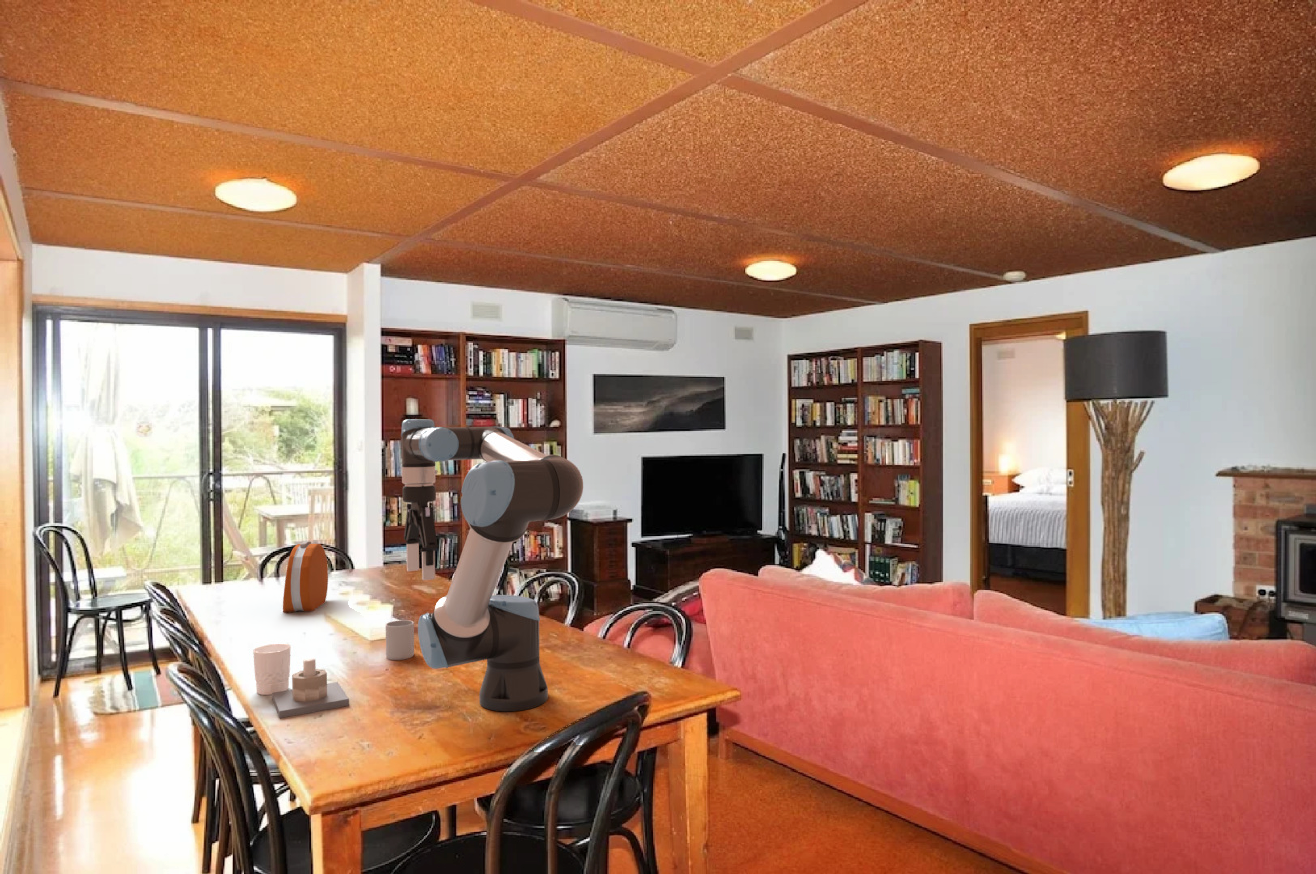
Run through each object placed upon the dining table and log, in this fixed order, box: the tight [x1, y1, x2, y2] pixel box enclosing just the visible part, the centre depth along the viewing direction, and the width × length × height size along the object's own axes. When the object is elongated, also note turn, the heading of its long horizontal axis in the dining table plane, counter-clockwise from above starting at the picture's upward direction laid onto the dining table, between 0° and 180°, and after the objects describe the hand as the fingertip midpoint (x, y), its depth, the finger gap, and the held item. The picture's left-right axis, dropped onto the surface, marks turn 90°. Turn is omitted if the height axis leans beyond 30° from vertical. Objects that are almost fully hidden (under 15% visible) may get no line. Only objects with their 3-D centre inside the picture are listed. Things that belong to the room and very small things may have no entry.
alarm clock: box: [282, 540, 329, 613], centre depth 276 cm, size 22×10×23 cm, turn 6°
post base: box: [271, 658, 350, 719], centre depth 179 cm, size 14×14×10 cm
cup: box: [385, 619, 415, 661], centre depth 215 cm, size 7×10×9 cm
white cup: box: [252, 643, 291, 696], centre depth 187 cm, size 8×8×10 cm
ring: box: [291, 668, 328, 701], centre depth 178 cm, size 7×7×5 cm
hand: (420, 575), depth 187 cm, fingers open, 13 cm apart
